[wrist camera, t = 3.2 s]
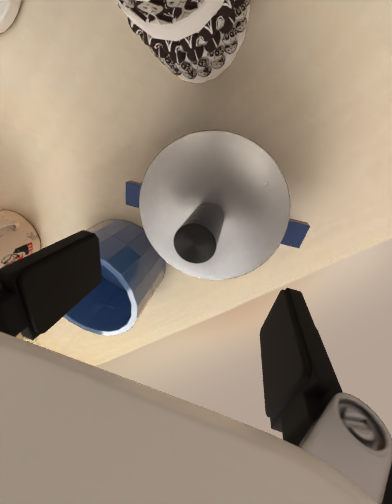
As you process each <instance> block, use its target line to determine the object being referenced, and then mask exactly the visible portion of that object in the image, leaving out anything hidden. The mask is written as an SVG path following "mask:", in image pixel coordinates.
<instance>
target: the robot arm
mask: <svg viewBox="0 0 392 504" xmlns="http://www.w3.org/2000/svg"><path fill="white" fill-rule="evenodd" d="M20 4H21V0H0V33H2V32H4V31H5V30H6V29H7V28H8V27H9V26H10V25H11V24H12V23H13V21H14V19H15V17H16V16H17V14H18V11H19V7H20ZM101 280H102V274H101V260H100V246H99V238H98V237H97V235H96V234H95V233H92V232H89V231H85V230H82V231H80V232H78V233H75V234H73V235H71V236H69V237H67V238H65V239H62V240H60V241H58V242H56V243H54V244H52V245H50V246H47V247H45V248H43V249H41V250H39V251H37V252H34V253H32V254H30V255H28V256H26V257H24V258H21V259H19V260H17V261H15V262H13V263H11V264H9V265H6V266H4V267H2V268H0V504H392V438H391V435H390V433H389V431H388V429H387V428H386V426H385V424H384V423H383V422H382V420H381V419H380V418H379V416H378V415H377V414H376V413H375V412H374V411H373V410H372V409H371V408H370V407H369V406H368V405H366V404H365V403H364V402H363V401H361V400H360V399H359V398H357V397H355V396H353V395H351V394H347V393H343V392H342V389H341V387H340V384H339V382H338V379H337V377H336V375H335V372H334V370H333V367H332V365H331V362H330V360H329V357H328V355H327V352H326V350H325V347H324V345H323V343H322V340H321V338H320V335H319V333H318V330H317V329H316V327H315V325H314V323H313V320H312V317H311V315H310V312H309V310H308V307H307V305H306V302H305V300H304V297H303V295H302V293H301V292H300V291H297V290H293V289H290V288H286V289H285V290H281V291H280V293H279V295H278V297H277V299H276V301H275V303H274V305H273V306H272V308H271V310H270V312H269V314H268V316H267V318H266V320H265V322H264V324H263V326H262V328H261V331H260V344H261V358H262V369H263V370H262V371H263V384H264V398H265V411H266V415H267V416H268V417H270V421H271V428H272V429H274V430H277V431H280V432H282V433H283V440H282V439H280V438H278V437H276V436H274V435H271V434H269V433H267V432H264V431H262V430H259V429H256V428H254V427H252V426H249V425H247V424H244V423H242V422H239V421H237V420H234V419H231V418H229V417H227V416H224V415H222V414H219V413H216V412H214V411H211V410H209V409H206V408H203V407H201V406H198V405H195V404H193V403H190V402H188V401H185V400H182V399H180V398H177V397H174V396H172V395H169V394H167V393H164V392H161V391H158V390H156V389H153V388H151V387H148V386H145V385H143V384H140V383H137V382H135V381H132V380H129V379H127V378H124V377H121V376H119V375H116V374H113V373H111V372H108V371H105V370H103V369H100V368H97V367H95V366H92V365H89V364H87V363H84V362H81V361H79V360H76V359H73V358H70V357H68V356H65V355H62V354H60V353H57V352H54V351H51V350H49V349H46V348H43V347H41V346H38V345H35V344H32V343H30V342H27V341H24V340H21V339H19V338H16V336H17V335H18V334H19V333H21V334H22V336H23V337H26V338H29V339H31V340H34V339H35V338H36V337H37V336H38V335H40V334H43V333H45V332H46V331H47V330H48V329H50V328H51V327H52V326H53V325H54V324H55V323H56V322H57V321H59V320H60V319H61V318H62V317H63V316H64V315H65V314H66V313H68V312H69V311H70V310H71V309H72V308H73V307H74V306H76V305H77V304H78V303H79V302H80V301H81V300H82V299H83V298H85V297H86V296H87V295H88V294H89V293H90V292H91V291H92V290H94V289H95V288H96V287H97V286H98V285H99V284H100V283H101Z"/></svg>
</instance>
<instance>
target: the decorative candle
mask: <svg viewBox="0 0 392 504" xmlns="http://www.w3.org/2000/svg"><path fill="white" fill-rule="evenodd" d="M116 1H117V3H118V5H119V7H120V8H121V9H122V10H123V11H124V13H125V14H126V15H127V16H128V22H129V25H130V27H131V29H132V30H133V32H134V33H136V34H137V35H140V36H141V39H142V41H143V42H144V43H145V44H146V45H148V46H149V47H150V49H151V51H152V53H153V54H154V55H155V56H156V57H158V58H159V60H160V61H161V62H162V63H163V64H164V65H166V66H167V67H168V69H169V70H170V71H171V72H172V73H174V74H175V75H177V76H178V77H179V78H181V79H182V80H183V81H187V82H193V83H199V84H200V83H203V82H206V81H209V80H211V79H214V78H217V77H218V76H219V75H220V74H221V73H222V72H223V71H224V70H225V69H226V68H227V67H228V66H229V65H230V64H231V63H232V62H233V60H234V58H235V56H236V54H237V53H238V51H239V49H240V47H241V45H242V43H243V41H244V37H245V32H246V28H247V23H248V18H249V13H250V6H249V4H250V2H251V0H116Z"/></svg>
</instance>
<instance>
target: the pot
mask: <svg viewBox="0 0 392 504" xmlns="http://www.w3.org/2000/svg"><path fill="white" fill-rule="evenodd" d="M86 231H89V232H92V233H95V234H96V235H97V237H98V238H99V246H100V260H101V274H102V280H101V283H100V284H99V285H98V286H97V287H96V288H95V289H94V290H92V291H91V292H90V293H89V294H88V295H87V296H86V297H85V298H83V299H82V300H81V301H80V302H79V303H78V304H77V305H76V306H74V307H73V308H72V309H71V310H70V311H69V312H68V313H66V314H65V315H64V316H63V317H65V318H66V319H67V320H68V321H70V322H71V323H73V324H75V325H77V326H79V327H80V328H82V329H84V330H87V331H90V332H93V333H96V334H99V335H109V336H112V335H118V334H123V333H124V332H126V331H128V330H129V329H131V328H132V327H133V325H134V324H135V322H136V321H137V319H138V318H139V316H140V314H141V313H142V311H143V310H144V308H145V307H146V305H147V303H148V302H149V300H150V299H151V297H152V296H153V294H154V292H155V291H156V289H157V288H158V286H159V284H160V283H161V281H162V279H163V277H164V273H165V260H164V259H163V258H162V257H161V256H160V255H159V254H158V253H157V251H156V250H155V249H154V248H153V246H152V245H151V243H150V241H149V240H148V238H147V236H146V233H145V231H144V229H142V228H141V227H139V226H137V225H135V224H133V223H131V222H128V221H124V220H107V221H104V222H102V223H100V224H98V225H96V226H94V227H92V228H90V229H88V230H86Z"/></svg>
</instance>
